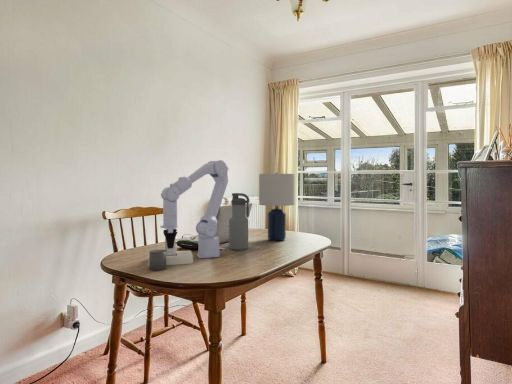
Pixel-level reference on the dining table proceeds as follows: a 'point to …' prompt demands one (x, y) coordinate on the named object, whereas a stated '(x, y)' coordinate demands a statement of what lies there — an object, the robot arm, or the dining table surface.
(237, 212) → the water bottle
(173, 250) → the square peg
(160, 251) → the round peg
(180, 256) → the bore plate
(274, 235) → the lamp
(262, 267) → the dining table surface
